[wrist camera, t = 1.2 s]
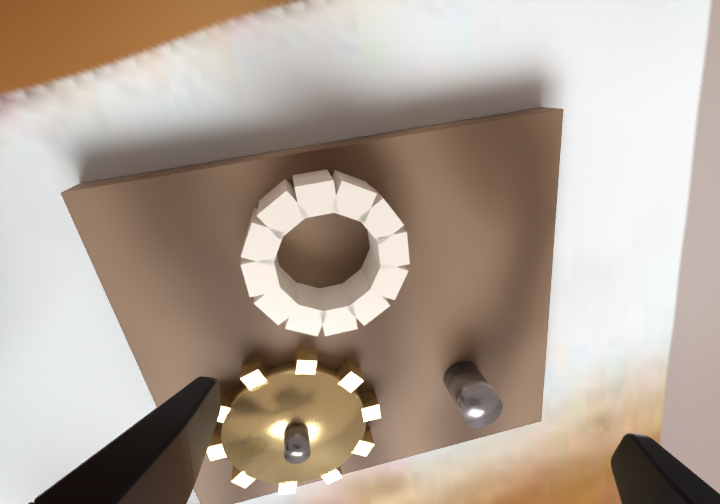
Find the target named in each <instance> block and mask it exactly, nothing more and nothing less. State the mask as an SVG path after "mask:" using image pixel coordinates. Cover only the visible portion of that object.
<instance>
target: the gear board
mask: <svg viewBox="0 0 720 504" xmlns="http://www.w3.org/2000/svg"><path fill="white" fill-rule="evenodd" d="M562 119H563V109H556V108H544V107H541V108H535V109H529V110H523V111H517V112H511V113H505V114H498V115H492V116H486V117H480V118H474V119H468V120H462V121H456V122H450V123H444V124H438V125H432V126H426V127H420V128H414V129H408V130H402V131H396V132H390V133H384V134H377V135H371V136H365V137H359V138H353V139H347V140H341V141H335V142H329V143H323V144H317V145H311V146H305V147H299V148H293V149H287V150H281V151H275V152H269V153H263V154H256V155H250V156H244V157H238V158H232V159H226V160H220V161H214V162H208V163H202V164H196V165H190V166H184V167H178V168H172V169H166V170H160V171H154V172H148V173H142V174H135V175H129V176H123V177H117V178H111V179H105V180H99V181H93V182H87V183H81V184H78V185H76V186H74V187H72V188H70V189H68V190H66V191H64V192H62V193H61V195H62V197H63V199H64V201H65V204H66V206H67V208H68V210H69V213H70V215H71V217H72V219H73V221H74V224H75V226H76V228H77V230H78V233H79V235H80V237H81V239H82V241H83V244H84V246H85V248H86V250H87V253H88V255H89V257H90V259H91V261H92V264H93V266H94V268H95V270H96V273H97V275H98V277H99V279H100V281H101V284H102V286H103V288H104V290H105V293H106V295H107V297H108V299H109V301H110V304H111V306H112V308H113V310H114V313H115V315H116V317H117V319H118V321H119V324H120V326H121V328H122V330H123V333H124V335H125V337H126V339H127V341H128V344H129V346H130V348H131V350H132V353H133V355H134V357H135V359H136V361H137V364H138V366H139V368H140V370H141V373H142V375H143V377H144V379H145V381H146V384H147V386H148V388H149V390H150V393H151V395H152V397H153V399H154V401H155V404H156V406H157V407H159V406H160V405H161V404H163V403H164V402H165V401H167V400H168V399H169V398H171V397H172V396H173V395H175V394H176V393H177V392H179V391H180V390H181V389H183V388H184V387H185V386H187V385H188V384H189V383H191V382H192V381H193V380H195V379H196V378H198V377H200V376H204V377H212V378H216V379H218V381H219V387H220V390H224V391H227V392H231V393H233V392H234V391H235V390H236V389H237V387H238V386H239V385H240V384H241V383H242V382H243V381H242V380H241V379H240V376H241V368H242V364H244V363H246V362H248V361H249V360H251V359H253V358H255V357H257V356H260V358H261V359H262V360H263V361H264V363H265V364H266V365H267V367H269V366H271V365H275V364H278V363H282V362H288V361H295V354H296V347H309V348H316V355H317V362H320V363H324V364H327V365H330V366H332V367H335V368H336V369H337V368H338V367H339V366H340V365H341V364H342V363H343V362H344V361H345V360H346V359H349V360H351V361H352V362H353V363H355V364H356V365H358V366H359V367H360V369H361V372H362V375H363V379H364V381H363V382H362V383H361V384H360V385H359V386H358V387H357V388H358V391H359V393H360V394H362V393H367V392H371V391H375V393H376V396H377V399H378V403H379V407H380V414H381V418H378V419H374V420H370V421H366V428H368V429H371V433H372V437H373V440H374V446H373V447H372V449H371V450H370V452H369V453H368V455H367V456H363V455H358V454H354V453H353V455H352V456H351V457H350V458H349V459H348V460H347V461H346V462H344V463H343V464H342V465H341V469H342V475H343V474H346V473H350V472H354V471H357V470H361V469H365V468H369V467H372V466H376V465H380V464H384V463H387V462H391V461H395V460H398V459H402V458H406V457H410V456H413V455H417V454H421V453H425V452H428V451H432V450H436V449H439V448H443V447H447V446H451V445H454V444H458V443H462V442H466V441H469V440H473V439H477V438H480V437H484V436H488V435H492V434H495V433H499V432H503V431H506V430H510V429H514V428H518V427H521V426H525V425H529V424H533V423H536V422H540V421H541V417H542V403H543V389H544V374H545V360H546V346H547V332H548V318H549V303H550V289H551V275H552V261H553V247H554V232H555V218H556V204H557V190H558V176H559V161H560V147H561V133H562ZM326 169H327V170H328V172H329V173H330V175H331V177H332V176H333V173H334V170H336V171H339V172H341V173H344V174H347V175H349V176H352V177H355V178H358V179H360V180H363V181H366V182H367V183H368V184H369V185H370V186H372V187H373V188H374V189H375V190H376V191H377V192H378V193H379V194H380V195H381V196H382V197H383V198H384V200H385V201H386V202H387V203H388V205H389V206H390V207H391V209H392V210H393V211H394V212H395V214H396V215H397V216H398V218H399V219H400V220H401V221H402V223H403V224H404V226H403V228H404V229H405V230H406V231H407V238H408V249H409V260H410V264H408V265H405V267H406V268H407V269H408V273H407V275H406V278H405V280H404V282H403V284H402V286H401V288H400V290H399V292H398V295H397V297H396V299H395V300H392V299H389V298H387V300H388V302H389V304H390V306H389V307H388V308H387V309H385V310H384V311H383V312H382V313H380V314H379V315H378V316H376V317H375V318H374V319H373V320H371V321H370V322H369V323H367V324H366V325H365V326H364V325H363V324H362V323H361V322H360V321H359V320H358V319H357V318H356V322H357V328H358V329H356V330H351V331H347V332H342V333H338V334H334V335H329V336H325V335H324V330H323V325H322V327H321V329H320V332H319V334H318V336H313V335H309V334H305V333H300V332H296V331H292V330H288V329H285V321H284V322H282V323H281V324H280V325H277V324H276V323H275V322H274V321H273V320H272V319H270V318H269V317H268V316H267V315H266V314H265V313H264V312H263V311H261V310H260V309H259V308H258V307H257V306H256V305H255V304H254V297H249V293H248V290H247V286H246V283H245V279H244V276H243V272H242V269H241V265H240V264H241V259H242V257H241V253H242V248H243V243H244V238H245V235H246V232H247V229H248V226H249V223H250V220H251V217H252V214H253V211H254V207H256V208H258V203H259V200H260V199H262V198H263V197H264V196H265V195H266V194H268V193H269V192H270V191H271V190H272V189H274V188H275V187H276V186H277V185H278V184H279V183H281V182H282V181H283V180H284V179H286V180H287V181H288V182H289V183H290V184H291V185H292V187H293V188H294V182H293V176H292V175H297V174H303V173H308V172H314V171H320V170H326ZM294 189H295V188H294ZM369 249H370V245H369V237H368V230H367V228H366V227H365V226H364V225H363V224H362V223H361V222H360V221H357V220H354V219H351V218H348V217H345V216H342V215H339V214H336V213H330V214H325V215H320V216H314V217H309V218H305V219H304V220H303V221H301V222H300V223H299V224H298V225H296V226H295V227H294V228H293V229H292V230H290V231H289V232H288V233H287V234H286V235H284V236H283V238H282V241H281V244H280V246H279V249H278V252H277V257H278V261H279V265H280V267H281V268H282V269H283V270H284V271H285V272H286V273H287V274H288V275H289V276H290V277H291V278H292V279H294V280H295V281H296V282H297V283H301V284H305V285H308V286H312V287H316V288H323V287H328V286H333V285H338V284H342V283H344V282H345V281H346V280H348V279H349V278H350V277H351V276H353V275H354V274H355V273H356V272H358V271H359V270H360V269H361V267H362V265H363V263H364V260H365V258H366V256H367V253H368V251H369ZM460 361H470V362H473V363H474V364H475V365H476V366H477V367H478V369H479V370H480V372H481V373H482V374H483V376H484V377H485V379H486V380H487V381H488V383H489V384H490V386H491V387H492V388H493V390H494V391H495V393H496V394H497V395H498V397H499V398H500V400H501V401H502V404H503V409H502V412H501V414H500V416H499V417H498V418H497V419H496V420H495V421H494V422H493V423H491V424H489V425H487V426H484V427H479V428H475V427H471V426H469V425H468V424H467V423H466V422H465V420H464V419H463V417H462V415H461V413H460V411H459V410H458V408H457V406H456V404H455V402H454V401H453V399H452V397H451V395H450V394H449V392H448V390H447V388H446V386H445V385H444V382H443V378H444V374H445V372H446V371H447V369H448V368H449V367H450V366H451V365H453V364H455V363H457V362H460ZM222 424H223V422H218V421H217V423H216V426H215V428H214V430H215V429H220V428H222ZM232 469H233V464H232V463H231V462H230V461H229V459H228V458H227V457H224V458H221V459H217V460H213V461H210V459H209V456H208V454H207V452H206V455H205V457H204V460H203V463H202V466H201V469H200V472H199V475H198V477H197V480H196V483H195V485H194V490H195V493H196V495H197V497H198V499H199V501H200V504H234V503H238V502H242V501H246V500H249V499H253V498H257V497H261V496H264V495H268V494H272V493H275V492H278V483H269V482H264V481H260V480H257V479H255V480H254V481H253V482H252V483H251V484H250V485H249V486H248V487H246V488H243V487H241V486H239V485H237V484H235V483H233V482H231V478H232ZM320 480H324V479H323V478H322V477H318V478H315V479H312V480H309V481H304V482H299V483H297V485H296V487H298V486H302V485H305V484H309V483H313V482H316V481H320Z"/></svg>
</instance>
